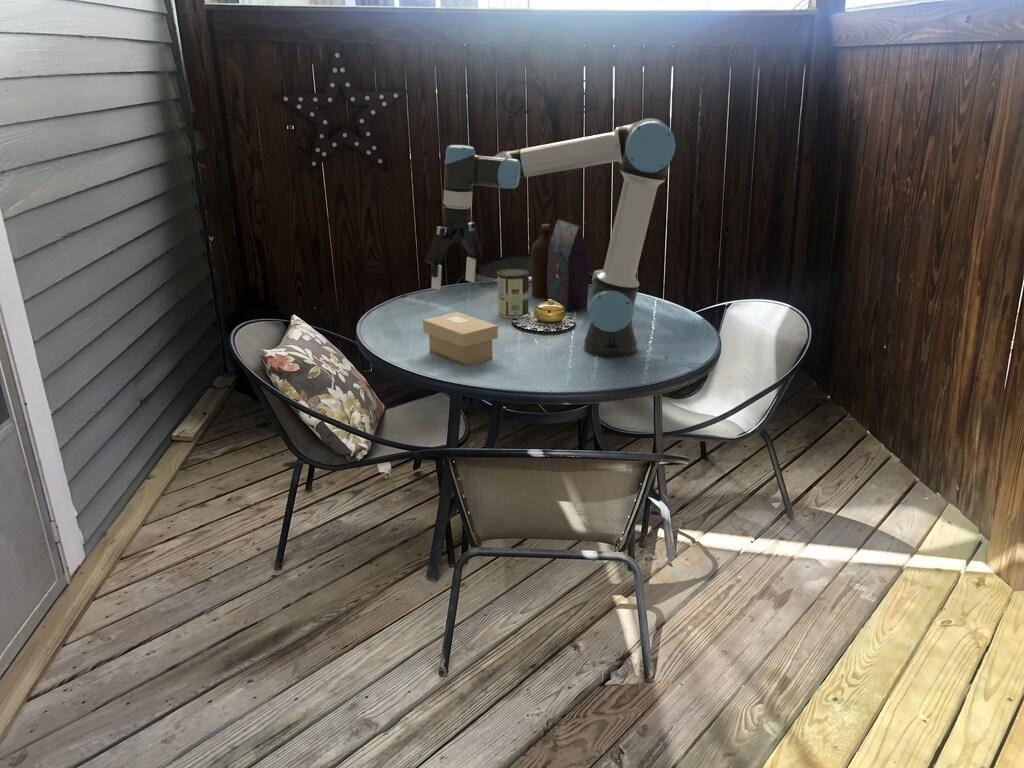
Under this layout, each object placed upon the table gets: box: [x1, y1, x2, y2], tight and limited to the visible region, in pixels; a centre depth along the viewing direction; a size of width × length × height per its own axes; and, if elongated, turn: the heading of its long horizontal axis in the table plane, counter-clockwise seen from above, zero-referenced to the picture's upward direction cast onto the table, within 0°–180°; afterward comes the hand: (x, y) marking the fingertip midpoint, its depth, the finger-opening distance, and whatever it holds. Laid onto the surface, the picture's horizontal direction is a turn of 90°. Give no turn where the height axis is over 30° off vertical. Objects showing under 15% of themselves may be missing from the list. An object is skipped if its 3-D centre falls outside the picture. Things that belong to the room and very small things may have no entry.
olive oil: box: [530, 223, 552, 299], centre depth 296 cm, size 11×11×25 cm
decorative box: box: [546, 219, 590, 313], centre depth 282 cm, size 8×16×28 cm, turn 24°
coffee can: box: [496, 268, 530, 319], centre depth 274 cm, size 10×10×14 cm
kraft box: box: [428, 334, 493, 367], centre depth 236 cm, size 16×10×9 cm, turn 41°
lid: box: [422, 311, 499, 347], centre depth 235 cm, size 18×12×4 cm
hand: (453, 284), depth 228 cm, fingers open, 13 cm apart
